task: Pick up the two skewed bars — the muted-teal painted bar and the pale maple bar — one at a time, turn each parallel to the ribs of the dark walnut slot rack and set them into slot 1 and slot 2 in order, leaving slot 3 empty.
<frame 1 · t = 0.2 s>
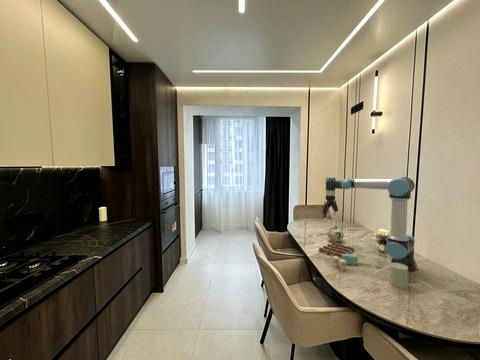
hand: (330, 220, 189), 27 cm above the table, fingers open, 13 cm apart
teal bar: (349, 263, 168), on the table
maple bar: (339, 266, 162), on the table
slot rack: (336, 251, 192), on the table
sugar bowl: (335, 240, 218), on the table
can: (398, 284, 138), on the table
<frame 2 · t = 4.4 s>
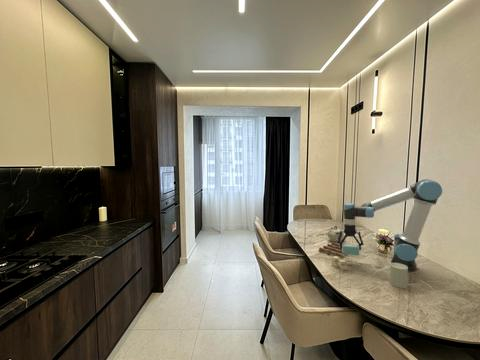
hand: (350, 253, 168), 7 cm above the table, fingers closed on teal bar, 10 cm apart
teal bar: (350, 253, 168), point 7 cm above the table, touching gripper
everything else where it was.
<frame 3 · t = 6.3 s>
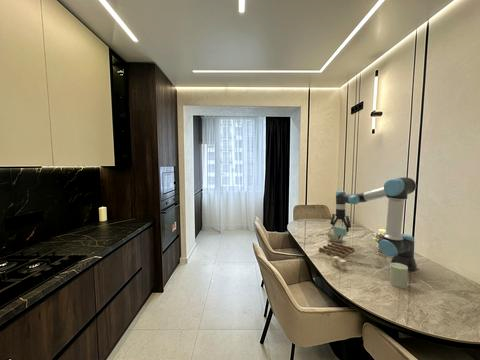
hand: (340, 233, 195), 14 cm above the table, fingers closed on teal bar, 10 cm apart
teal bar: (340, 234, 195), point 13 cm above the table, touching gripper
everything else where it was.
when the fingers open (3 cm above the table, at t = 8.7 s): teal bar drops 2 cm, resting on slot rack.
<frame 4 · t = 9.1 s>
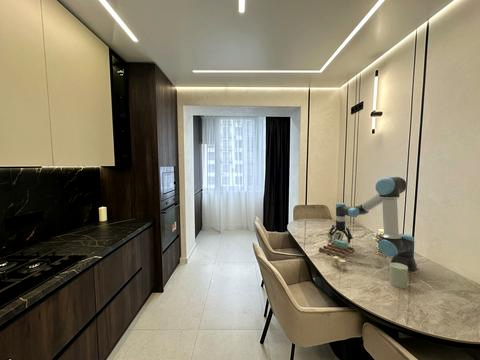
hand: (340, 244, 196), 4 cm above the table, fingers open, 13 cm apart
teal bar: (340, 248, 196), point 1 cm above the table, touching slot rack
everything else where it was.
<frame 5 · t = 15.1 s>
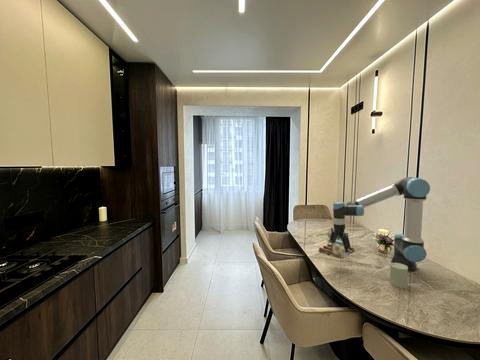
hand: (339, 253, 162), 10 cm above the table, fingers closed on maple bar, 10 cm apart
maple bar: (339, 254, 162), point 9 cm above the table, touching gripper
everything else where it was.
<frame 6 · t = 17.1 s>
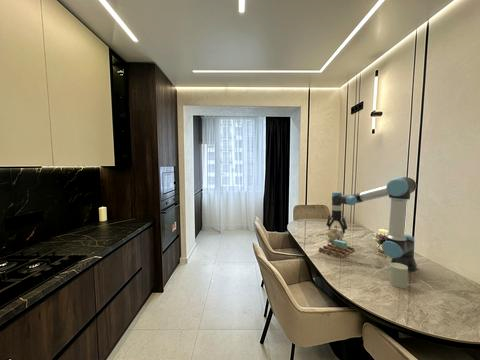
hand: (336, 235, 191), 14 cm above the table, fingers closed on maple bar, 10 cm apart
maple bar: (336, 236, 191), point 13 cm above the table, touching gripper
everything else where it was.
when the fingers open (3 cm above the table, at t = 19.5 s): maple bar drops 2 cm, resting on slot rack.
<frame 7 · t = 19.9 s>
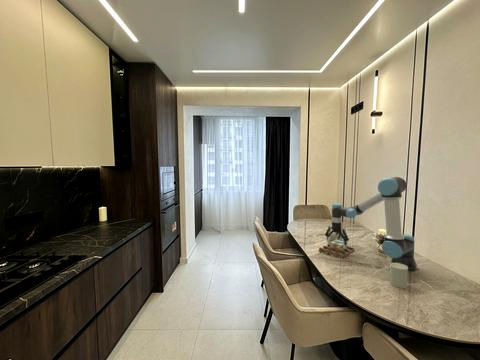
hand: (336, 246, 192), 4 cm above the table, fingers open, 13 cm apart
maple bar: (336, 250, 192), point 1 cm above the table, touching slot rack
everything else where it was.
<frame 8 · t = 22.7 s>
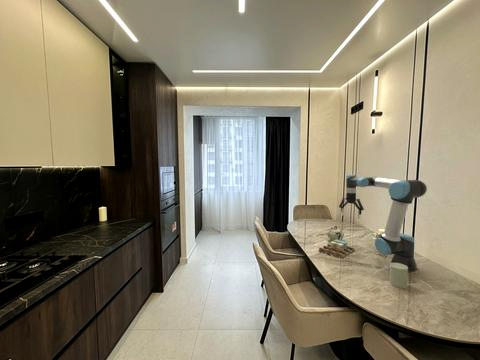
hand: (350, 216, 194), 29 cm above the table, fingers open, 13 cm apart
nothing on the table moved.
at the end: teal bar inside the target area on the slot rack (0.1 cm from its centre), point 1.0 cm above the slot rack's base; maple bar inside the target area on the slot rack (0.2 cm from its centre), point 1.0 cm above the slot rack's base; teal bar tilted 0° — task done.
